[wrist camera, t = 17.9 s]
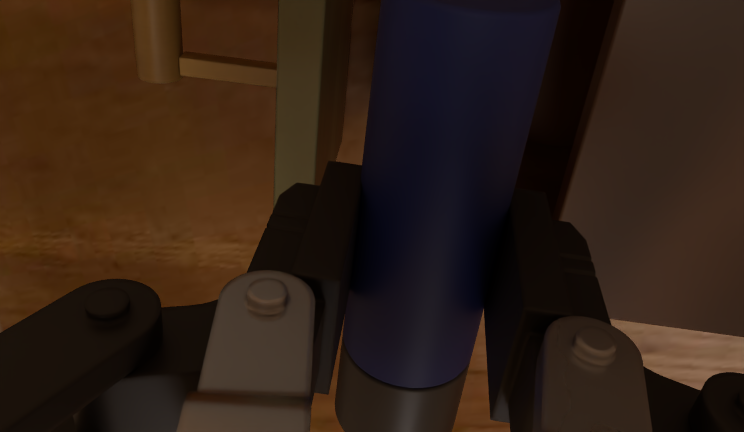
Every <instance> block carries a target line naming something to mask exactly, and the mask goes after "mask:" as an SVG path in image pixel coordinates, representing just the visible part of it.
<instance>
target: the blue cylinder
mask: <svg viewBox="0 0 744 432" xmlns="http://www.w3.org/2000/svg"><path fill="white" fill-rule="evenodd" d="M560 10H561V5H560V0H381V5H380V14H379V23H378V31H377V40H376V49H375V58H374V66H373V75H372V84H371V92H370V101H369V110H368V119H367V127H366V136H365V145H364V154H363V162H362V171H361V184H362V191H361V199H360V208H359V216H358V225H357V233H356V242H355V251H354V259H353V268H352V276H351V285H350V291H349V296H348V301H347V306H346V311H345V319H344V328H343V337H342V345H341V354H340V363H339V371H338V380H337V389H336V398H335V411H336V415H337V418H338V421H339V423H340V425H341V426H342V428H343V430H344V431H345V432H451V431H452V429H453V426H454V422H455V418H456V414H457V410H458V406H459V402H460V399H461V395H462V391H463V387H464V383H465V379H466V375H467V371H468V367H469V364H470V359H471V356H472V352H473V348H474V344H475V340H476V336H477V332H478V329H479V325H480V321H481V317H482V313H483V309H484V304H485V301H486V297H487V293H488V289H489V285H490V281H491V277H492V273H493V269H494V266H495V262H496V258H497V254H498V250H499V246H500V242H501V238H502V234H503V231H504V227H505V223H506V219H507V215H508V211H509V207H510V204H511V200H512V196H513V193H514V189H515V185H516V181H517V177H518V173H519V169H520V165H521V161H522V158H523V154H524V150H525V146H526V142H527V138H528V134H529V130H530V126H531V123H532V119H533V115H534V111H535V107H536V103H537V99H538V95H539V91H540V88H541V84H542V80H543V76H544V72H545V68H546V64H547V60H548V56H549V53H550V49H551V45H552V41H553V37H554V33H555V29H556V25H557V21H558V18H559V14H560Z"/></svg>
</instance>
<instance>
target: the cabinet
mask: <svg viewBox="0 0 744 432" xmlns="http://www.w3.org/2000/svg"><path fill="white" fill-rule="evenodd" d="M552 220H558V221H564V222H570V223H571V224H572V225H573V226H574V227H575V228H576V229H577V230H578V232H579V233H580V234H581V235H582V236H583V237H584V238H585V239H586V241H587V244H588V248H589V251H590V254H591V258H592V259H591V262H593V265H594V268H595V271H596V277H597V278H598V282H599V285H600V288H601V292H602V295H603V298H604V302H605V305H606V309H607V312H608V315H609V319H615V320H623V321H630V322H637V323H645V324H652V325H659V326H666V327H674V328H681V329H688V330H696V331H703V332H710V333H718V334H725V335H732V336H739V337H744V0H614V3H613V7H612V10H611V14H610V17H609V21H608V24H607V28H606V31H605V35H604V38H603V42H602V45H601V49H600V52H599V56H598V59H597V63H596V66H595V70H594V73H593V77H592V80H591V84H590V87H589V91H588V94H587V98H586V101H585V105H584V108H583V111H582V115H581V118H580V122H579V125H578V129H577V132H576V136H575V139H574V143H573V146H572V150H571V153H570V157H569V160H568V164H567V167H566V171H565V174H564V178H563V181H562V185H561V188H560V192H559V195H558V199H557V202H556V206H555V209H554V213H553V216H552Z"/></svg>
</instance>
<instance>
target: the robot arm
mask: <svg viewBox="0 0 744 432" xmlns="http://www.w3.org/2000/svg"><path fill="white" fill-rule="evenodd" d="M361 171H362V165H356V164H349V163H342V162H335V161H328V163H327V166H326V169H325V172H324V175H323V178H322V181H321V184H320V186H319V185H312V184H305V183H298V182H297V183H295V184H294V185H292V186H291V187H290V188H288V189H287V190H286V191H284V192H283V193H282V194H280V195H279V198H278V200H277V202H276V205H275V207H274V209H273V213H272V214H271V216H270V219H269V221H268V224H267V228H265V231H264V233H263V235H262V238H261V240H260V242H259V245H258V247H257V250H256V252H255V254H254V257H253V259H252V261H251V264H250V266H249V268H248V271H247V273H245V274H242V275H240V276H238V277H236V278H234V279H232V280H231V281H230V282H228V283H227V284H226V285H225V286H224V288H223V289H222V291H221V293H220V295H219V299H218V300H215V301H212V302H208V303H204V304H198V305H189V306H177V307H164V308H161V302H160V299H159V297H158V295H157V294H156V292H155V291H154V290H153V289H151V288H150V287H148V286H147V285H144V284H142V283H140V282H136V281H133V280H127V279H107V280H101V281H96V282H92V283H89V284H86V285H84V286H81V287H79V288H77V289H75V290H73V291H72V292H70V293H68V294H66V295H65V296H63V297H61V298H60V299H58V300H56V301H54V302H53V303H51V304H49V305H48V306H46V307H44V308H42V309H41V310H39V311H37V312H35V313H34V314H32V315H30V316H29V317H27V318H25V319H23V320H22V321H20V322H18V323H17V324H15V325H13V326H11V327H10V328H8V329H6V330H5V331H3V332H1V333H0V432H310V418H311V405H312V400H313V396H314V392H315V393H321V394H329V389H330V384H331V379H332V374H333V370H334V365H335V360H336V355H337V350H338V345H339V340H340V335H341V330H342V325H343V320H344V316H345V311H346V306H347V301H348V296H349V291H350V285H351V276H352V268H353V259H354V251H355V242H356V233H357V225H358V216H359V208H360V199H361V191H362V184H361ZM591 259H592V258H591V254H590V251H589V248H588V244H587V241H586V239H585V238H584V237H583V236H582V235H581V234H580V233H579V232H578V230H577V229H576V228H575V227H574V226H573V225H572V224H571V223H570V222H564V221H558V220H552V217H551V213H550V208H549V204H548V200H547V195H546V193H545V192H541V191H534V190H527V189H520V188H515V189H514V193H513V196H512V200H511V204H510V207H509V211H508V215H507V219H506V223H505V227H504V231H503V234H502V238H501V242H500V246H499V250H498V254H497V258H496V262H495V266H494V269H493V273H492V277H491V281H490V285H489V289H488V293H487V297H486V301H485V304H484V318H485V335H486V352H487V369H488V386H489V402H490V419H491V420H495V421H501V422H508V423H510V431H511V432H744V374H741V373H734V372H725V373H719V374H716V375H713V376H712V377H710V378H709V379H708V380H707V381H706V382H705V384H704V386H703V388H702V389H701V391H700V390H697V389H695V388H692V387H690V386H687V385H684V384H682V383H679V382H676V381H674V380H671V379H668V378H666V377H663V376H661V375H659V374H656V373H654V372H653V371H651V370H649V369H647V368H645V367H644V366H643V361H642V357H641V354H640V352H639V350H638V348H637V347H636V345H635V344H634V342H633V341H632V340H631V339H630V338H629V337H628V336H626V335H625V334H624V333H623V332H621V331H620V330H618V329H617V328H615V327H613V326H611V322H610V319H609V315H608V312H607V309H606V305H605V302H604V298H603V295H602V292H601V288H600V285H599V282H598V278H597V277H596V271H595V268H594V265H593V262H591Z"/></svg>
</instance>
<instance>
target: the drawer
mask: <svg viewBox="0 0 744 432" xmlns="http://www.w3.org/2000/svg"><path fill="white" fill-rule="evenodd" d="M353 1H354V0H278V39H277V63H271V62H264V61H256V60H248V59H240V58H232V57H225V56H217V55H209V54H201V53H193V52H184V53H183V46H182V27H181V8H180V0H130V2H131V13H132V24H133V34H134V45H135V56H136V67H137V75H138V77H139V78H140V79H141V80H143V81H145V82H149V83H157V84H164V83H172V82H176V81H178V80H180V79H182V78H183V76H189V77H197V78H204V79H212V80H220V81H228V82H235V83H243V84H251V85H259V86H266V87H274V88H276V124H275V166H274V207H275V205H276V202H277V200H278V198H279V195H280V194H282V193H283V192H284V191H286V190H287V189H288V188H290V187H291V186H292V185H294V184H295V183H297V182H298V183H305V184H312V185H319V186H320V184H321V181H322V178H323V175H324V172H325V169H326V166H327V163H328V161H335V162H336V158H337V155H338V152H339V148H340V145H341V142H342V134H343V122H344V110H345V98H346V86H347V74H348V62H349V50H350V37H351V25H352V13H353ZM613 3H614V0H560V5H561V10H560V14H559V18H558V21H557V25H556V29H555V33H554V37H553V41H552V45H551V49H550V53H549V56H548V60H547V64H546V68H545V72H544V76H543V80H542V84H541V88H540V91H539V95H538V99H537V103H536V107H535V111H534V115H533V119H532V123H531V126H530V130H529V134H528V138H527V142H526V146H525V150H524V154H523V158H522V161H521V165H520V169H519V173H518V177H517V181H516V185H515V188H520V189H527V190H534V191H541V192H545V193H546V195H547V200H548V204H549V208H550V213H551V217H552V216H553V213H554V209H555V206H556V202H557V199H558V195H559V192H560V188H561V185H562V181H563V178H564V174H565V171H566V167H567V164H568V160H569V157H570V153H571V150H572V146H573V143H574V139H575V136H576V132H577V129H578V125H579V122H580V118H581V115H582V111H583V108H584V105H585V101H586V98H587V94H588V91H589V87H590V84H591V80H592V77H593V73H594V70H595V66H596V63H597V59H598V56H599V52H600V49H601V45H602V42H603V38H604V35H605V31H606V28H607V24H608V21H609V17H610V14H611V10H612V7H613ZM273 209H274V208H273Z"/></svg>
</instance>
